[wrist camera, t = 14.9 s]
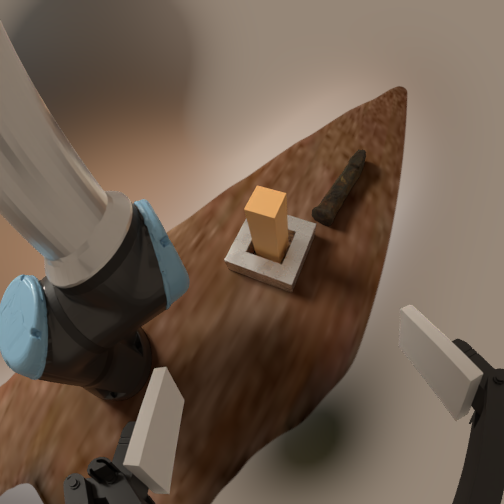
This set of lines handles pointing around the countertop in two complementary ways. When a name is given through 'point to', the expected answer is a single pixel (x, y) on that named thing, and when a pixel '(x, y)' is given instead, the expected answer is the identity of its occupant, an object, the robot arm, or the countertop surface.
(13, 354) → the robot arm
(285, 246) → the orange rectangular block
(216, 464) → the countertop surface
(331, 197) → the hand tool
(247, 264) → the square frame
